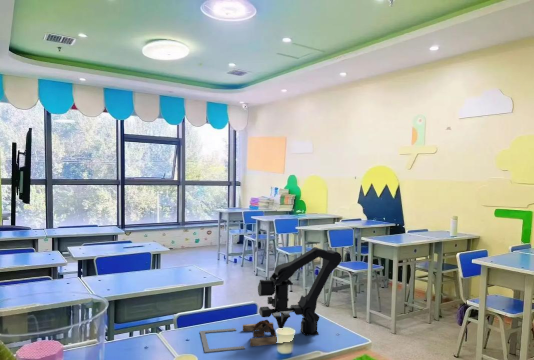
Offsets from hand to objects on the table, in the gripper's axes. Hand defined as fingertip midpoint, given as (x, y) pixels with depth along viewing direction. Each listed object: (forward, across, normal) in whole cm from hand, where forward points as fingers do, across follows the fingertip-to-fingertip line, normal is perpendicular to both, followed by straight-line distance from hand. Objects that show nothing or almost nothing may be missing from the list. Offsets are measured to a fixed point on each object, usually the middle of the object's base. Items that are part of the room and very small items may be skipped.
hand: (280, 330), depth 165 cm
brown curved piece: (+2, +7, +1) cm, 8 cm away
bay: (+2, +25, 0) cm, 25 cm away
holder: (+2, +8, 0) cm, 8 cm away
